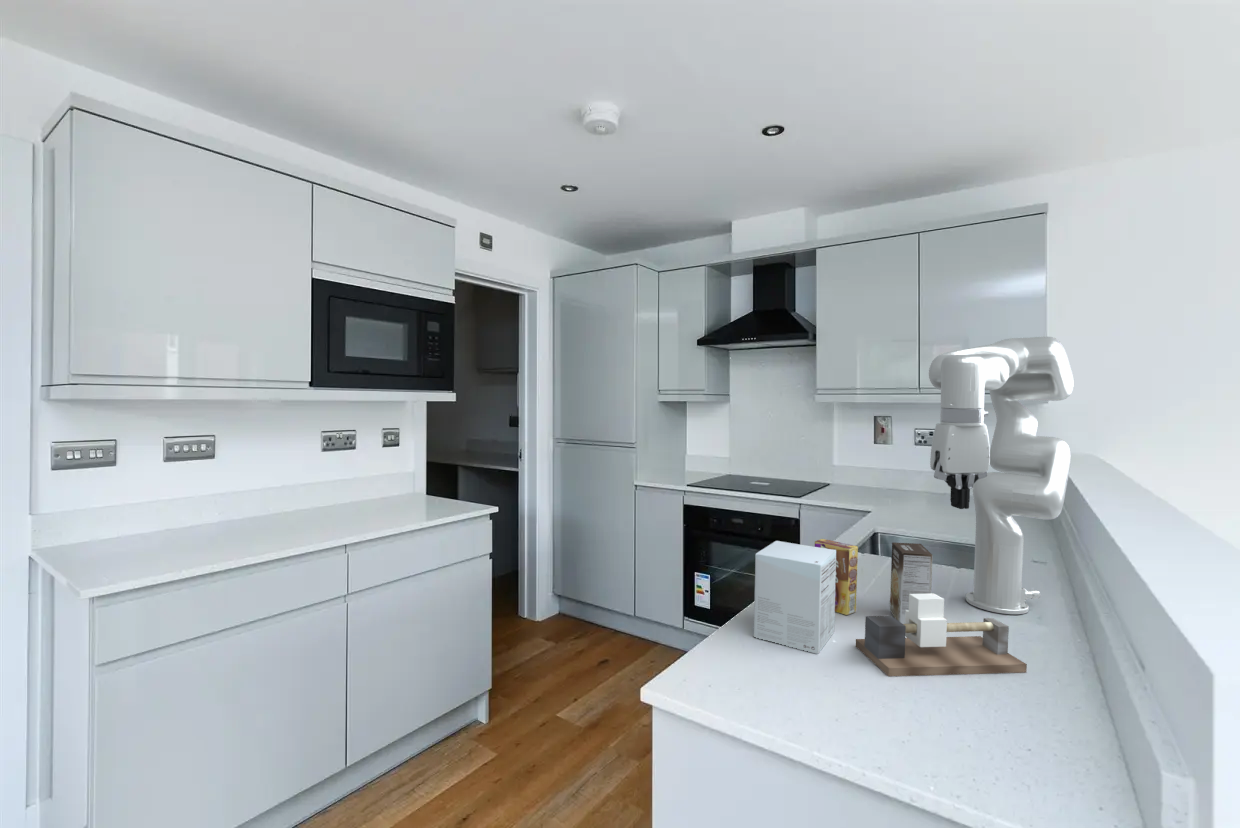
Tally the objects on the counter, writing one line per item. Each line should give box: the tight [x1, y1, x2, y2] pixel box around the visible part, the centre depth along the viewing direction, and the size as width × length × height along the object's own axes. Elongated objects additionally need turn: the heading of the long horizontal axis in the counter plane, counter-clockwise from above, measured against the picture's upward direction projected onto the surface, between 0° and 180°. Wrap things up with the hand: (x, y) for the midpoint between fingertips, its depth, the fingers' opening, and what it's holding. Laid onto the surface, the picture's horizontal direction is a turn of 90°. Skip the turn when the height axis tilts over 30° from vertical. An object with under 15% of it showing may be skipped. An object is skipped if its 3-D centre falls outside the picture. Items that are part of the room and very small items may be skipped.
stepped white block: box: [905, 592, 948, 647], centre depth 109 cm, size 5×5×8 cm
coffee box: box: [889, 542, 934, 624], centre depth 129 cm, size 9×6×16 cm
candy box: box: [814, 538, 859, 616], centre depth 135 cm, size 9×4×15 cm, turn 39°
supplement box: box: [752, 540, 836, 655], centre depth 119 cm, size 13×13×18 cm
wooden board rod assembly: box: [855, 614, 1028, 677], centre depth 110 cm, size 26×12×8 cm, turn 95°
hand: (959, 507), depth 118 cm, fingers closed
